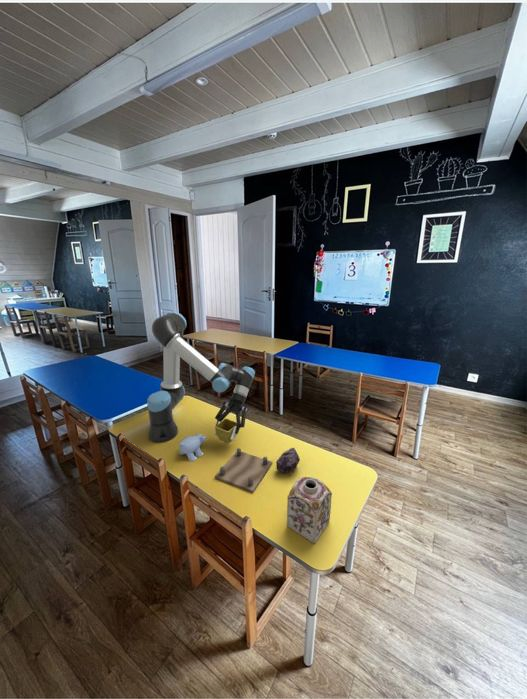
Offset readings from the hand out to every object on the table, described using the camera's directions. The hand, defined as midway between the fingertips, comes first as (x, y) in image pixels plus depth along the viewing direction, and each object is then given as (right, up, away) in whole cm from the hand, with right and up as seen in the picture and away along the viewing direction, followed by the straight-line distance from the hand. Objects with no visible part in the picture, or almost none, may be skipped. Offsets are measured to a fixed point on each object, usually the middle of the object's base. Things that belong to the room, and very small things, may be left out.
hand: (223, 437), depth 140 cm
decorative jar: (+36, -20, -38) cm, 56 cm away
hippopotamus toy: (-15, -8, 0) cm, 17 cm away
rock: (+32, -11, -11) cm, 35 cm away
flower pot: (+1, -3, +4) cm, 5 cm away
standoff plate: (+11, -11, -13) cm, 20 cm away
